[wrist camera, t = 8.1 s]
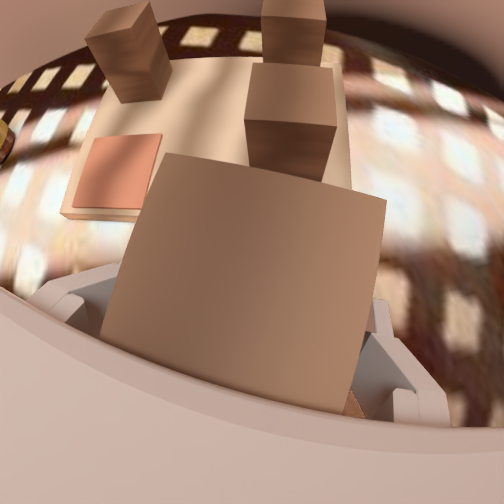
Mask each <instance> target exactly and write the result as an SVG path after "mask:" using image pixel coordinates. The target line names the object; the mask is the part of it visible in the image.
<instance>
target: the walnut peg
mask: <svg viewBox="0 0 504 504" xmlns="http://www.w3.org/2000/svg"><path fill="white" fill-rule="evenodd" d="M386 203H387V200H385V199H382V198H378V197H375V196H371V195H367V194H364V193H360V192H356V191H353V190H349V189H345V188H341V187H337V186H334V185H330V184H326V183H322V182H317V181H313V180H309V179H305V178H301V177H296V176H292V175H287V174H283V173H278V172H274V171H269V170H264V169H259V168H254V167H249V166H244V165H239V164H234V163H228V162H223V161H217V160H211V159H205V158H199V157H193V156H187V155H180V154H174V153H167V152H166V153H165V155H164V157H163V159H162V161H161V163H160V166H159V168H158V170H157V173H156V175H155V177H154V179H153V182H152V184H151V186H150V189H149V191H148V194H147V196H146V198H145V201H144V203H143V206H142V208H141V211H140V213H139V216H138V219H137V221H136V224H135V226H134V229H133V232H132V234H131V237H130V240H129V243H128V245H127V248H126V251H125V254H124V257H123V260H122V262H121V265H120V268H119V271H118V274H117V277H116V281H115V284H114V287H113V290H112V293H111V297H110V300H109V303H108V307H107V310H106V313H105V317H104V320H103V324H102V328H101V331H100V335H99V340H101V341H103V342H105V343H107V344H110V345H112V346H114V347H116V348H119V349H121V350H123V351H126V352H128V353H130V354H133V355H135V356H138V357H140V358H143V359H145V360H148V361H150V362H153V363H155V364H158V365H160V366H163V367H166V368H169V369H171V370H174V371H177V372H180V373H182V374H185V375H188V376H191V377H194V378H197V379H200V380H203V381H206V382H209V383H212V384H215V385H219V386H222V387H225V388H228V389H232V390H235V391H239V392H242V393H246V394H249V395H253V396H257V397H261V398H264V399H268V400H272V401H276V402H280V403H284V404H289V405H293V406H298V407H302V408H307V409H312V410H316V411H321V412H327V413H332V414H338V415H342V413H343V410H344V407H345V404H346V401H347V397H348V394H349V391H350V387H351V384H352V380H353V377H354V373H355V369H356V366H357V362H358V358H359V354H360V350H361V346H362V342H363V338H364V334H365V329H366V325H367V320H368V316H369V311H370V306H371V301H372V296H373V291H374V286H375V280H376V275H377V269H378V263H379V256H380V250H381V243H382V236H383V229H384V221H385V212H386Z"/></svg>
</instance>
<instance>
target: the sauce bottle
mask: <svg viewBox="0 0 504 504" xmlns="http://www.w3.org/2000/svg"><path fill="white" fill-rule="evenodd" d="M13 140H14V133H13V132H12V131H11V130H10V128H9V127H8V126H7V124H6V123H5V122H4V121H3V120H2V119H0V163H1V162H2V161H3V160H4V159H5V157H6V156H7V155H8V153H9V151H10V149H11V147H12V144H13Z"/></svg>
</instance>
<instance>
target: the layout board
mask: <svg viewBox="0 0 504 504" xmlns="http://www.w3.org/2000/svg"><path fill="white" fill-rule="evenodd" d="M325 27H326V15H325V8H324V3H323V0H264V2H263V7H262V13H261V29H262V50H263V57H215V58H194V59H181V60H170V61H169V58H168V55H167V52H166V49H165V46H164V43H163V40H162V37H161V34H160V32H159V29H158V26H157V23H156V20H155V17H154V14H153V11H152V8H151V5H150V2H144V3H139V4H135V5H130V6H126V7H122V8H118V9H114V10H110V11H106V12H105V13H104V14H103V15H102V17H101V18H100V19H99V20H98V22H97V23H96V24H95V25H94V27H93V28H92V30H91V31H90V32H89V33H88V35H87V36H86V38H85V41H86V43H87V45H88V47H89V48H90V50H91V52H92V54H93V56H94V57H95V59H96V61H97V63H98V64H99V66H100V68H101V70H102V72H103V73H104V75H105V77H106V79H107V80H108V82H109V86H108V88H107V90H106V92H105V94H104V96H103V98H102V101H101V103H100V105H99V107H98V109H97V111H96V114H95V116H94V118H93V120H92V123H91V125H90V127H89V130H88V132H87V134H86V137H85V139H84V142H83V144H82V147H81V150H80V152H79V155H78V157H77V160H76V163H75V166H74V168H73V171H72V174H71V177H70V180H69V183H68V186H67V189H66V192H65V196H64V199H63V202H62V206H61V209H60V214H62V215H63V216H64V217H66V218H67V219H78V220H100V221H121V222H136V221H137V219H138V216H139V213H140V211H141V208H142V206H143V203H144V201H145V198H146V196H147V194H148V191H149V189H150V186H151V184H152V182H153V179H154V177H155V175H156V173H157V170H158V168H159V166H160V163H161V161H162V159H163V157H164V155H165V153H166V152H167V153H174V154H180V155H187V156H193V157H199V158H205V159H211V160H217V161H223V162H228V163H234V164H239V165H244V166H249V167H254V168H259V169H264V170H269V171H274V172H278V173H283V174H287V175H292V176H296V177H301V178H305V179H309V180H313V181H317V182H322V183H326V184H330V185H334V186H337V187H341V188H345V189H349V190H352V185H351V164H350V148H349V134H348V123H347V112H346V102H345V93H344V85H343V77H342V69H341V64H337V63H329V62H321V57H322V50H323V43H324V35H325Z"/></svg>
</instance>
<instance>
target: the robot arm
mask: <svg viewBox="0 0 504 504" xmlns="http://www.w3.org/2000/svg"><path fill="white" fill-rule="evenodd" d="M121 262H122V261H121ZM121 262H120V263H119V264H116V263H112V264H108V265H104V266H101V267H97V268H93V269H90V270H86V271H83V272H79V273H76V274H72V275H68V276H65V277H61V278H58V279H54V280H51V281H48V282H47V283H46V284H45V285H43V286H42V287H41V288H40V289H39V290H38V291H36V292H35V293H34V294H33V295H32V296H31V297H30V298H28V299H27V300H26V301H24V300H22V299H20V298H19V297H17V296H15V295H14V294H12V293H10V292H9V291H7V290H5V289H4V288H2V287H1V286H0V504H504V427H451V420H450V414H449V409H448V403H447V398H446V393H445V392H444V391H443V390H442V388H441V387H440V386H439V385H438V384H437V382H436V381H435V380H434V379H433V378H432V377H431V375H430V374H429V373H428V372H427V371H426V370H425V368H424V367H423V366H422V365H421V364H420V363H419V361H418V360H417V359H416V358H415V357H414V356H413V355H412V353H411V352H410V351H409V350H408V349H407V348H406V347H405V345H404V344H403V343H402V342H401V341H400V340H399V339H398V338H394V334H393V328H392V322H391V317H390V311H389V306H388V302H387V301H385V300H380V299H375V298H372V301H371V306H370V311H369V316H368V320H367V325H366V329H365V334H364V338H363V342H362V346H361V350H360V354H359V358H358V362H357V366H356V369H355V373H354V377H353V380H352V384H351V389H352V391H353V393H354V395H355V397H356V399H357V401H358V403H359V405H360V406H361V408H362V410H363V412H364V414H365V416H366V418H367V419H362V418H356V417H349V416H343V415H338V414H332V413H327V412H321V411H316V410H312V409H307V408H302V407H298V406H293V405H289V404H284V403H280V402H276V401H272V400H268V399H264V398H261V397H257V396H253V395H249V394H246V393H242V392H239V391H235V390H232V389H228V388H225V387H222V386H219V385H215V384H212V383H209V382H206V381H203V380H200V379H197V378H194V377H191V376H188V375H185V374H182V373H180V372H177V371H174V370H171V369H169V368H166V367H163V366H160V365H158V364H155V363H153V362H150V361H148V360H145V359H143V358H140V357H138V356H135V355H133V354H130V353H128V352H126V351H123V350H121V349H119V348H116V347H114V346H112V345H110V344H107V343H105V342H103V341H101V340H99V335H100V331H101V328H102V324H103V320H104V317H105V313H106V310H107V307H108V303H109V300H110V297H111V293H112V290H113V287H114V284H115V281H116V277H117V274H118V271H119V268H120V265H121Z"/></svg>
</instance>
